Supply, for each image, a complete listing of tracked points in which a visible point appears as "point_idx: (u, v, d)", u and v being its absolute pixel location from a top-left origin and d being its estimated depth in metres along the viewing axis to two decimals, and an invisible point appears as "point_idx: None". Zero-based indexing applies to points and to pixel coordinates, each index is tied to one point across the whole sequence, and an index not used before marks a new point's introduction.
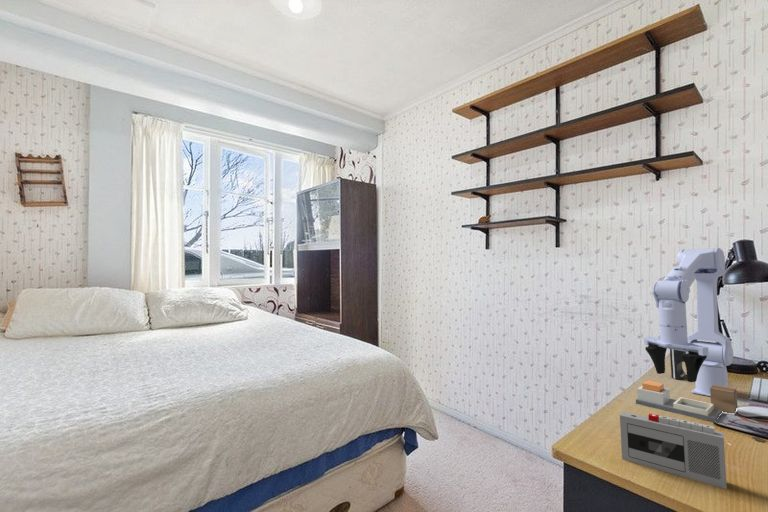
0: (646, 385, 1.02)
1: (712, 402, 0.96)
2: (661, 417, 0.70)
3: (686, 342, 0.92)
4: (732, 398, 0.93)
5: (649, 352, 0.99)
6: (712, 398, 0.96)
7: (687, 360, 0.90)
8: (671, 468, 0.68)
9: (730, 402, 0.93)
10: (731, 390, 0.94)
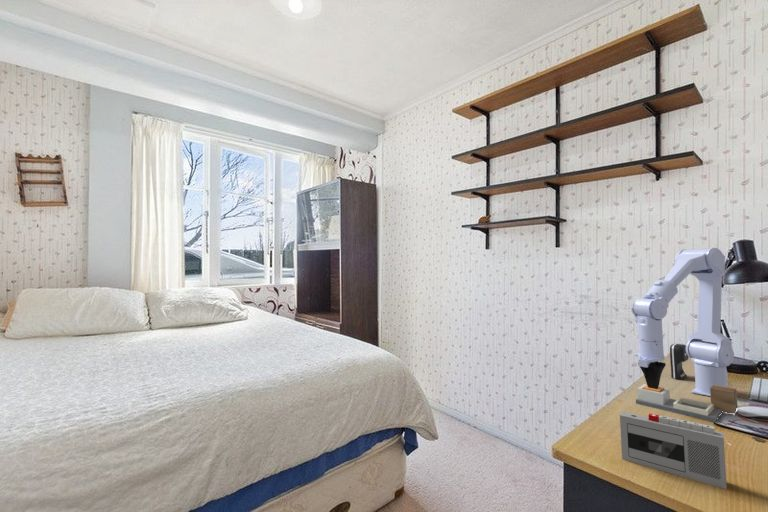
0: (646, 389, 1.02)
1: (712, 402, 0.96)
2: (661, 417, 0.70)
3: (649, 356, 1.01)
4: (732, 398, 0.93)
5: None
6: (712, 398, 0.96)
7: None
8: (671, 468, 0.68)
9: (730, 402, 0.93)
10: (731, 390, 0.94)
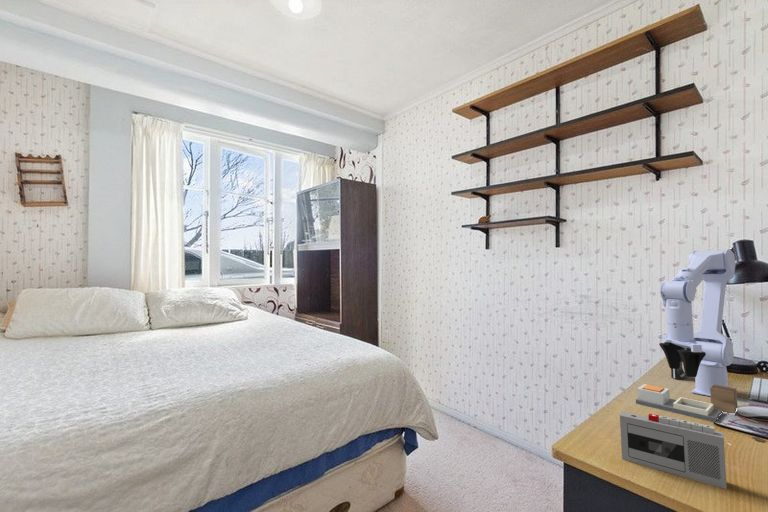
0: (646, 389, 1.02)
1: (712, 402, 0.96)
2: (661, 417, 0.70)
3: (688, 339, 0.98)
4: (732, 398, 0.93)
5: (662, 347, 1.06)
6: (712, 398, 0.96)
7: (681, 355, 0.96)
8: (671, 468, 0.68)
9: (730, 402, 0.93)
10: (731, 390, 0.94)
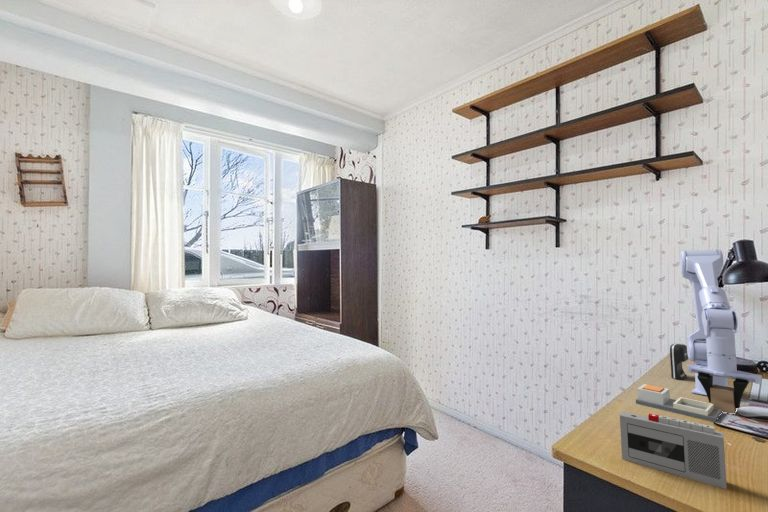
0: (646, 389, 1.02)
1: (712, 402, 0.96)
2: (661, 417, 0.70)
3: (736, 370, 0.94)
4: (732, 398, 0.93)
5: (702, 381, 0.98)
6: (712, 398, 0.96)
7: (738, 388, 0.92)
8: (671, 468, 0.68)
9: (730, 402, 0.93)
10: (731, 390, 0.94)
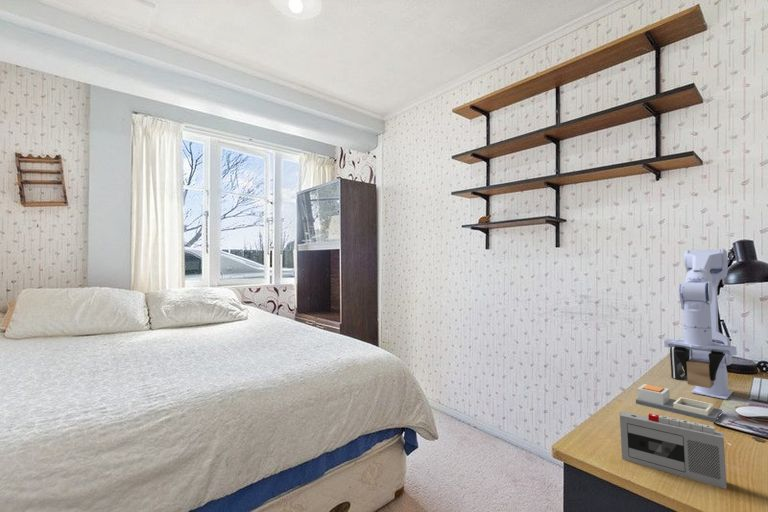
0: (646, 389, 1.02)
1: (688, 376, 0.96)
2: (661, 417, 0.70)
3: (712, 342, 0.94)
4: (707, 371, 0.93)
5: (679, 355, 0.98)
6: (688, 372, 0.96)
7: (713, 360, 0.92)
8: (671, 468, 0.68)
9: (706, 375, 0.93)
10: (707, 363, 0.94)
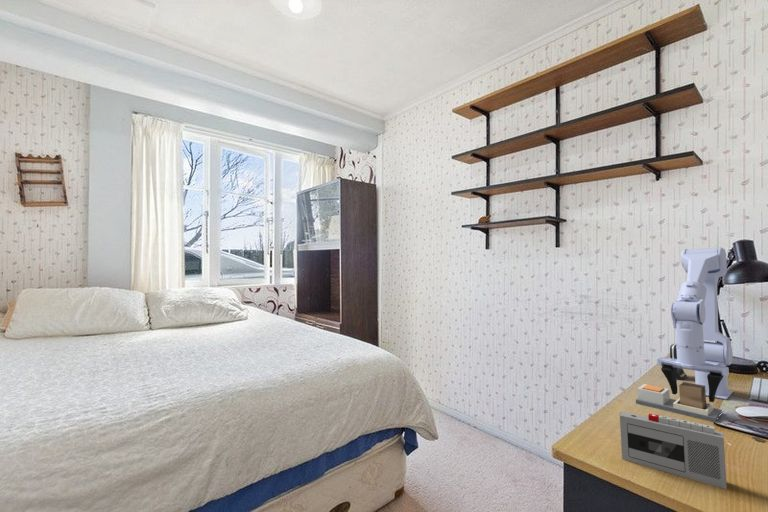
0: (646, 389, 1.02)
1: (681, 399, 0.96)
2: (661, 417, 0.70)
3: (704, 362, 0.94)
4: (700, 395, 0.93)
5: (666, 373, 0.98)
6: (681, 395, 0.96)
7: (712, 381, 0.91)
8: (671, 468, 0.68)
9: (698, 399, 0.93)
10: (699, 387, 0.94)
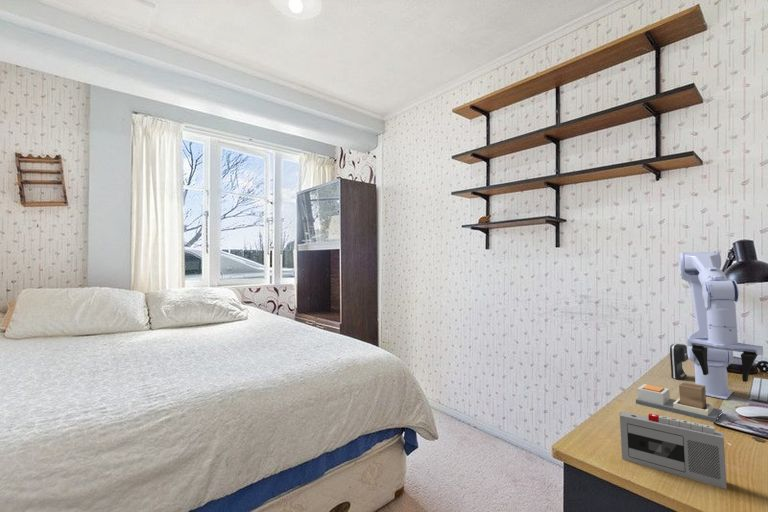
0: (646, 389, 1.02)
1: (681, 399, 0.96)
2: (661, 417, 0.70)
3: (737, 342, 0.93)
4: (700, 395, 0.93)
5: (697, 354, 0.97)
6: (681, 395, 0.96)
7: (746, 360, 0.90)
8: (671, 468, 0.68)
9: (698, 399, 0.93)
10: (699, 387, 0.94)
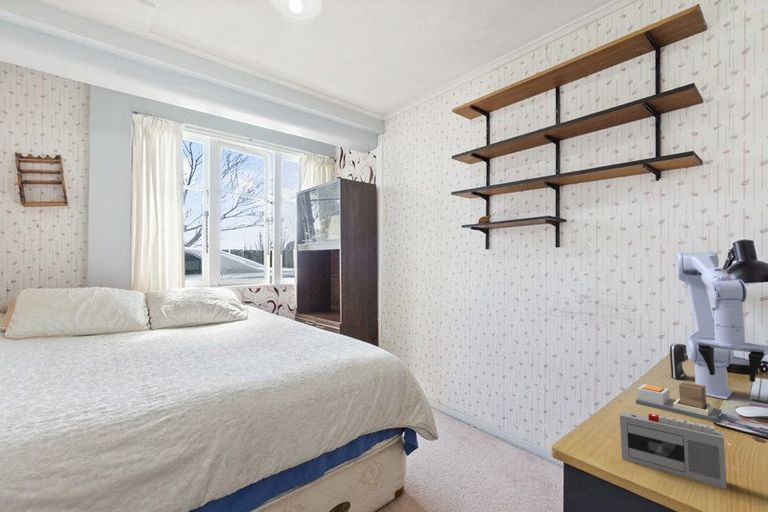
0: (646, 389, 1.02)
1: (681, 399, 0.96)
2: (661, 417, 0.70)
3: (744, 342, 0.93)
4: (700, 395, 0.93)
5: (703, 354, 0.97)
6: (681, 395, 0.96)
7: (753, 360, 0.89)
8: (671, 468, 0.68)
9: (698, 399, 0.93)
10: (699, 387, 0.94)
